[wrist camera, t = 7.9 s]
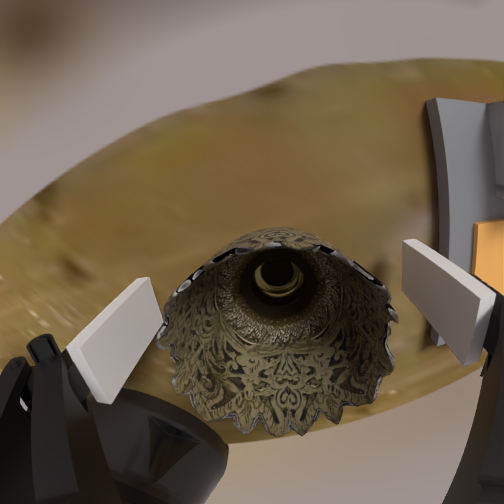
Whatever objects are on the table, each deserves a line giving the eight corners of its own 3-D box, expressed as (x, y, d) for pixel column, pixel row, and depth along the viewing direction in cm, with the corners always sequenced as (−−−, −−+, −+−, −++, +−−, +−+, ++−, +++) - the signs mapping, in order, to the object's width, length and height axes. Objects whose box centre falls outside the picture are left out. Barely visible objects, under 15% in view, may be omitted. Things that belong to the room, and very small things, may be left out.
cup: (343, 324, 16) (379, 427, 8) (220, 332, 17) (189, 438, 9) (343, 197, 14) (416, 235, 6) (200, 209, 15) (128, 258, 7)
